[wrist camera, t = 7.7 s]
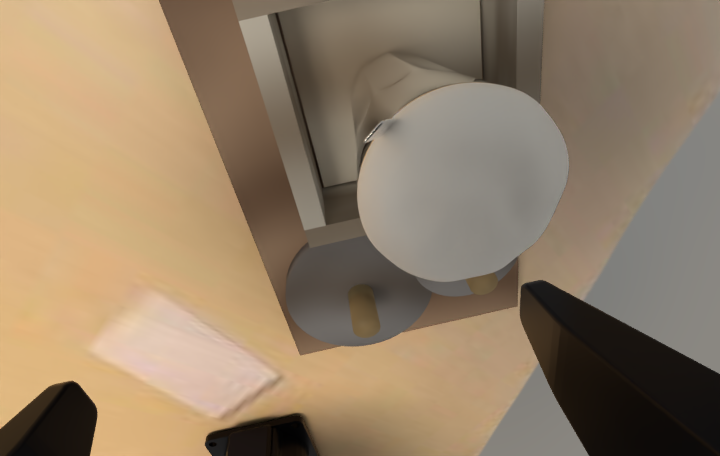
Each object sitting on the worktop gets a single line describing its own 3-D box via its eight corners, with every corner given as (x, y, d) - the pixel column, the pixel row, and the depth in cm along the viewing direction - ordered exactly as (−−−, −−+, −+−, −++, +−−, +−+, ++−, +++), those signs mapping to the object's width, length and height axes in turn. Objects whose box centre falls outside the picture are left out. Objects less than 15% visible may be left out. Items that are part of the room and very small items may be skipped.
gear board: (506, 288, 24) (544, 349, 21) (300, 334, 25) (300, 403, 21) (504, -104, 15) (576, -125, 11) (161, -26, 15) (114, -19, 11)
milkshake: (376, -18, 14) (492, 1, 6) (476, 92, 16) (666, 223, 8) (289, 88, 16) (278, 232, 7) (392, 176, 18) (478, 365, 9)
